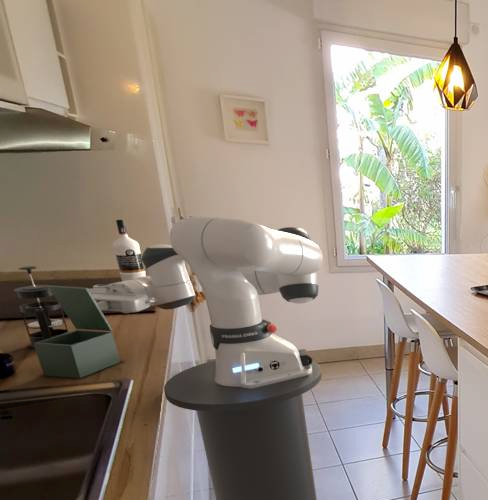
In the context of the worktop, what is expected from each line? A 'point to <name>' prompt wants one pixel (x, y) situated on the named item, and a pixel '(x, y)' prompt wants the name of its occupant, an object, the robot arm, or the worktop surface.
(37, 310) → the french press
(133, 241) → the vodka
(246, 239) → the robot arm
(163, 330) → the worktop surface
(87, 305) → the lid
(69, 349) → the green box
